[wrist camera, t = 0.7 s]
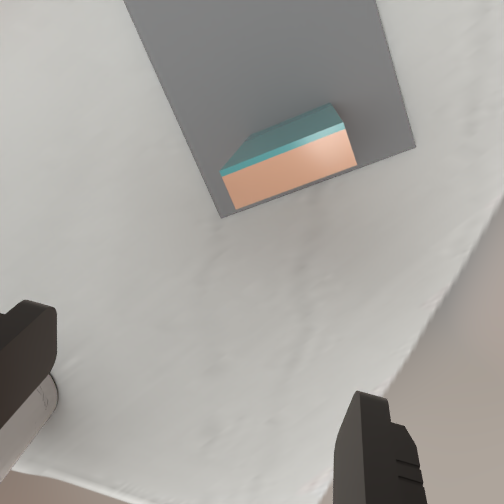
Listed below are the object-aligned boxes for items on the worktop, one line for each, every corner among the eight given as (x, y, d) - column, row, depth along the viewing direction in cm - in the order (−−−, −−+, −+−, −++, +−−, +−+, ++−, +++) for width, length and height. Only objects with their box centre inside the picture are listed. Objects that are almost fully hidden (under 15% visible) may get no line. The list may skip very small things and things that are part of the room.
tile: (260, 161, 33) (235, 209, 21) (249, 135, 32) (219, 171, 21) (339, 130, 31) (357, 165, 20) (330, 102, 30) (343, 122, 19)
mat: (222, 216, 35) (221, 218, 35) (67, -132, 28) (62, -136, 27) (414, 145, 31) (415, 147, 31) (295, -278, 24) (295, -286, 23)
